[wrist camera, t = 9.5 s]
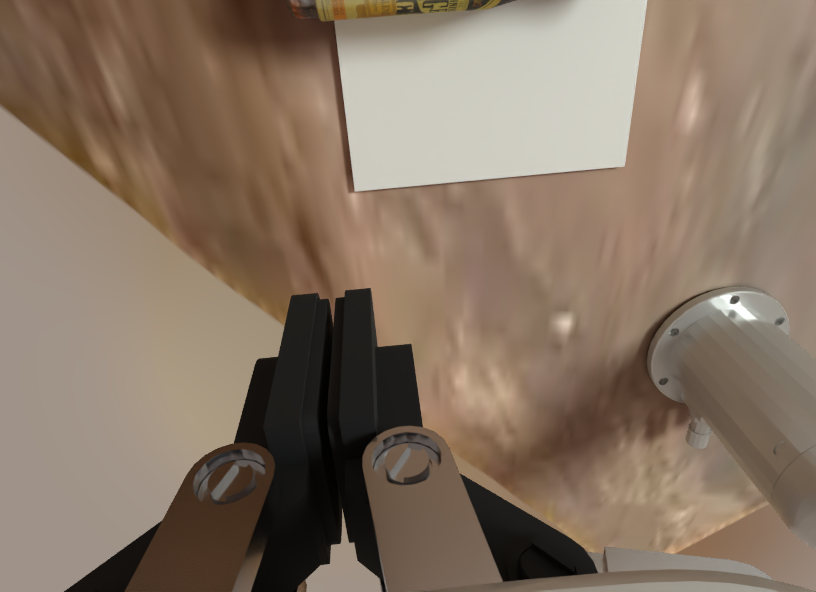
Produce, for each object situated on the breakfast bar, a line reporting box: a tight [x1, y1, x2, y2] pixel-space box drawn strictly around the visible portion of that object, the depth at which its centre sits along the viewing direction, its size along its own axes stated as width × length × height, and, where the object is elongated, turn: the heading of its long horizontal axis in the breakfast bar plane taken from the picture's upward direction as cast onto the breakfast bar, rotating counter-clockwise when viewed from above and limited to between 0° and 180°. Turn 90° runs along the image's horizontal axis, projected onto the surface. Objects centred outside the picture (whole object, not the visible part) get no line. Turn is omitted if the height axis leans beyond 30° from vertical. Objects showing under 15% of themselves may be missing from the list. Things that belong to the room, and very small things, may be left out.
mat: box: [334, 0, 647, 191], centre depth 37 cm, size 16×20×1 cm
